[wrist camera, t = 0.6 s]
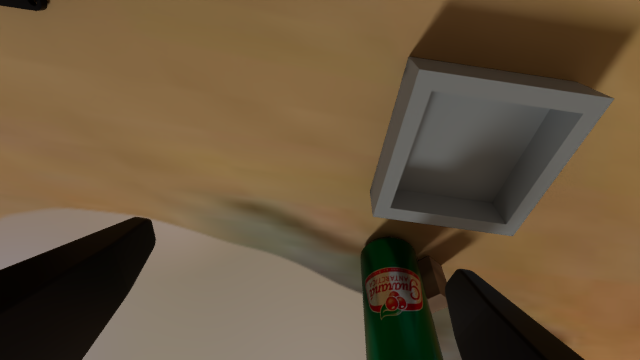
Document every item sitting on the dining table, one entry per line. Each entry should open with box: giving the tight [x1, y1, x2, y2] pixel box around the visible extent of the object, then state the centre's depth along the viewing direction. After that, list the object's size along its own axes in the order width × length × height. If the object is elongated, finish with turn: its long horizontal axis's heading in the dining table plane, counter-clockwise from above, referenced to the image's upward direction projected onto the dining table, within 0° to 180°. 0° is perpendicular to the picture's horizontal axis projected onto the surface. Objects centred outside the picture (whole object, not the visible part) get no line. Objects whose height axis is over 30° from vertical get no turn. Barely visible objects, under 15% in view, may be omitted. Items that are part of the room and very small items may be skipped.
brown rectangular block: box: [418, 256, 448, 314], centre depth 27 cm, size 2×5×4 cm, turn 138°
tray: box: [370, 57, 614, 236], centre depth 19 cm, size 10×10×3 cm
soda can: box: [361, 237, 443, 360], centre depth 22 cm, size 5×5×12 cm
